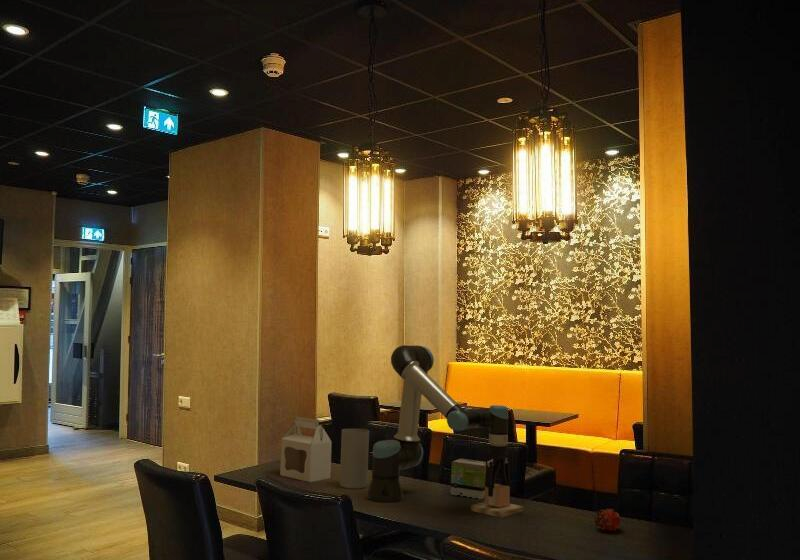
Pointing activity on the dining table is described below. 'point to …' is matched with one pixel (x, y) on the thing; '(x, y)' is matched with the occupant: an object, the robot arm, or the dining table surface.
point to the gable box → (298, 445)
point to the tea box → (468, 478)
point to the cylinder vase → (354, 458)
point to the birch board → (497, 509)
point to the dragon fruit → (607, 520)
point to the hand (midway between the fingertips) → (497, 503)
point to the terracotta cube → (499, 495)
